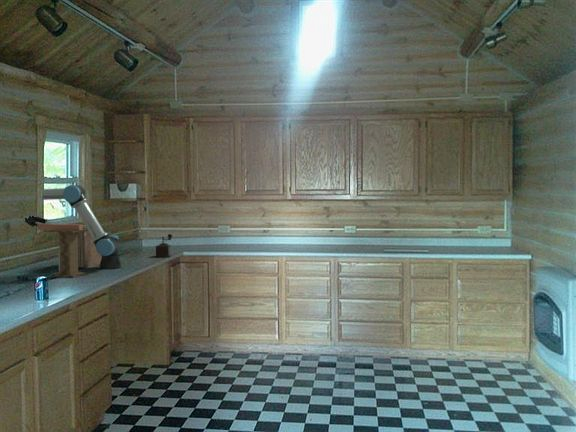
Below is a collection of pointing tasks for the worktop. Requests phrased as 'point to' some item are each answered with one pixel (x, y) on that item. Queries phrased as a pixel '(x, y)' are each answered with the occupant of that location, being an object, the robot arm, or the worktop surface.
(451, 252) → the worktop surface
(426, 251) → the worktop surface
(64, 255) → the shelf stand
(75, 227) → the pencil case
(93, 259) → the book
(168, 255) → the coffee grinder
